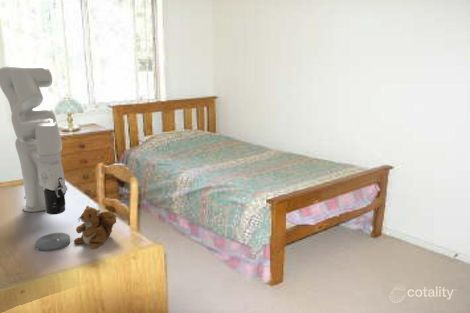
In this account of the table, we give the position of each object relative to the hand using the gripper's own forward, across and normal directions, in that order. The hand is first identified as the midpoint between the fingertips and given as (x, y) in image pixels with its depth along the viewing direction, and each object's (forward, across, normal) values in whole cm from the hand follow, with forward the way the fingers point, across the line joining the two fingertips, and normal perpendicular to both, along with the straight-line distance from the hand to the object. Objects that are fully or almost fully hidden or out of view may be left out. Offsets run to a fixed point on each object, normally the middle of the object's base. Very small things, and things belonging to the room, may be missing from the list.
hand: (55, 203), depth 158 cm
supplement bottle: (+3, 0, 0) cm, 3 cm away
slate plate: (+10, +10, -8) cm, 16 cm away
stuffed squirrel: (+10, +21, +2) cm, 23 cm away
